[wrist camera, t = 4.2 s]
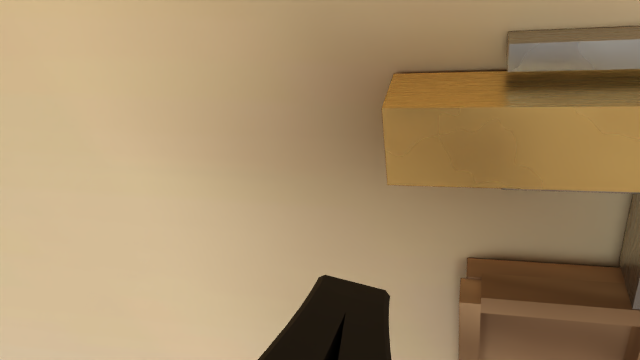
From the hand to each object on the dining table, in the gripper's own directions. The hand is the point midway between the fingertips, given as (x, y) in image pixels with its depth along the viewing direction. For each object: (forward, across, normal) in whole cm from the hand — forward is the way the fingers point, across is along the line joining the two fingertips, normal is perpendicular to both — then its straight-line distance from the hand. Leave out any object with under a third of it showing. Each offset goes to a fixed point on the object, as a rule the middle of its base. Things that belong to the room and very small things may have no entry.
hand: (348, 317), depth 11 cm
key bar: (+9, -3, -1) cm, 9 cm away
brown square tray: (+9, -7, +7) cm, 13 cm away
